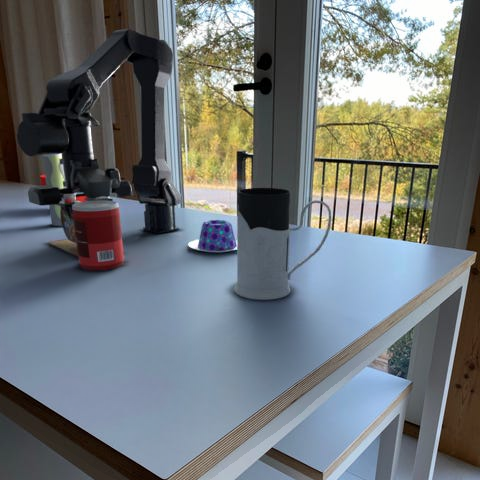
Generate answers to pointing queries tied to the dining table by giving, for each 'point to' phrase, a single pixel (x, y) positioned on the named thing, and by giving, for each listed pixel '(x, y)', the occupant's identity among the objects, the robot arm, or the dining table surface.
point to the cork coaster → (66, 246)
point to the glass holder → (266, 242)
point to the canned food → (98, 234)
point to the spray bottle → (54, 182)
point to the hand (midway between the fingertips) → (88, 235)
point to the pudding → (215, 237)
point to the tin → (68, 226)
